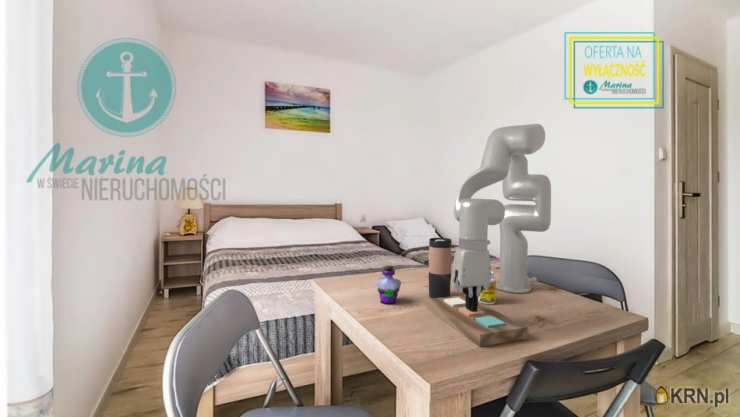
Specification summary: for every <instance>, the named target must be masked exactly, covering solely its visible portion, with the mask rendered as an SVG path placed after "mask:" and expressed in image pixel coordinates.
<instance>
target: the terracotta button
mask: <svg viewBox="0 0 740 417" xmlns="http://www.w3.org/2000/svg"><path fill="white" fill-rule="evenodd" d="M458 311H460V312H462V313H463V314H465V315H467V316H468V317H470V316H478V315H485V312H484V311H482V310H480V309H479V308H477V311H474V312H471V311H470V310H468V309H466V307H461V308H458Z"/></svg>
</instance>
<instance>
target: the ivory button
mask: <svg viewBox="0 0 740 417" xmlns="http://www.w3.org/2000/svg"><path fill="white" fill-rule="evenodd" d="M444 302H445V303H447V304H449V305H450V306H452V307H456V306H464V305H465V301H464V300H462V299H460V298H450V299H444Z"/></svg>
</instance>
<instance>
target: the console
mask: <svg viewBox="0 0 740 417" xmlns="http://www.w3.org/2000/svg"><path fill="white" fill-rule="evenodd" d="M450 298H460V299H462V300H464V301H465V299H466V295H464V294H462V295H452V296H450V297H442V298H426V299H425V300H426V310H427V311H429V312H430V313H432V314H433V315H435V316H436V317H437V318H438V319H440V320H441V321H443V322H444V323H446V324H447V325H449V326H450V327H451V328H452V329H454V330H455V331H457V332H459V334H460V335H463V336H464V337H465V338H467V339H468V341H469V340H470V341H471V342H472V343H474V344H475V345H476V346H478V347H479V348H482V347H487V346H493V345H499V344H504V343H511V342H517V341H523V340H527V339H528V332H529V331H528V328H529V327H528V326H527V325H524V324H522V323H520V322H519V321H517V320H514V319H513V318H510V317H508V316H507V315H505V314H503V313H501V312H499V311H497V310H495V309H493V308H491V307H490V306H487V304H483V303H480V302H479V301H478V307H477V308H479V309H480V310H482V311H484V312H485V315H478V316H470V317H468V316H467V315H465V314H463V313H462V312H460V311H458V308H461V307H466V306H465V305H464V306H456V307H452V306H450V305H449V304H447V303H445V302H444V299H450ZM486 316H493V317H495V318H497V319H499V320H501V321H502V322H504V323H505V326H500V327H493V328H486V327H485V326H483V325H481V324H480V323H478V322H476V321H475V318H479V317H486Z"/></svg>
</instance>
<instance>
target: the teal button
mask: <svg viewBox="0 0 740 417" xmlns="http://www.w3.org/2000/svg"><path fill="white" fill-rule="evenodd" d="M475 321H476V322H478V323H480V324H481V325H483V326H485V327H486V328H493V327H500V326H505V323H504V322H502V321H501V320H499V319H497V318H495V317H493V316H486V317H479V318H475Z"/></svg>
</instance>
